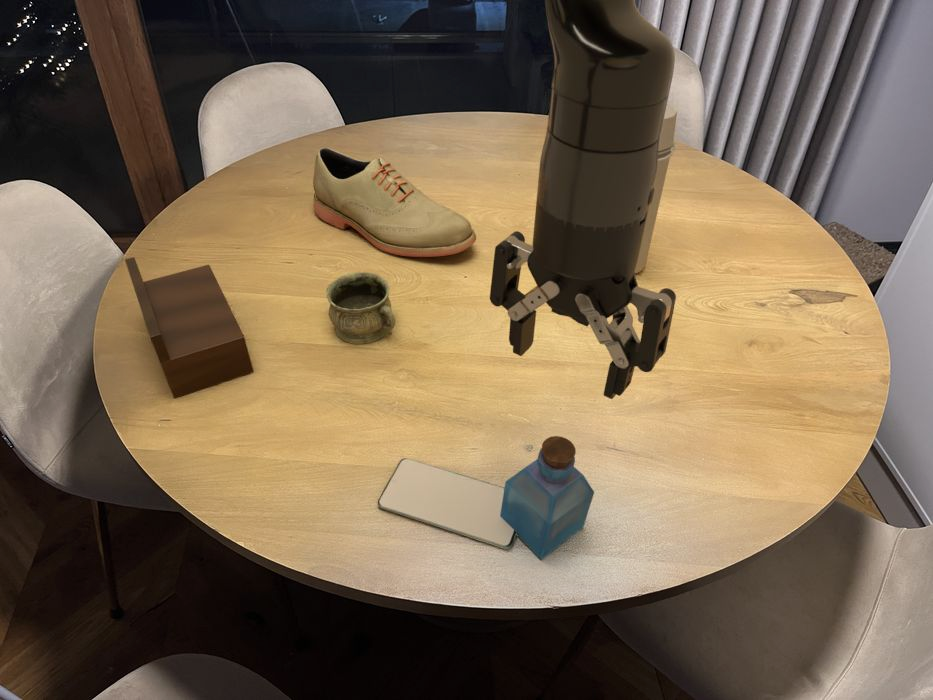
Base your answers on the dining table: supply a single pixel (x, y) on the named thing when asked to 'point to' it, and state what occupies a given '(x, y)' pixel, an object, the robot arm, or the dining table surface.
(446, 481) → the smartphone
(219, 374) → the wooden display stand
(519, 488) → the perfume bottle
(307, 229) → the dining table surface
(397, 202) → the oxford shoe
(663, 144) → the water bottle
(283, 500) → the dining table surface
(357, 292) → the vessel
